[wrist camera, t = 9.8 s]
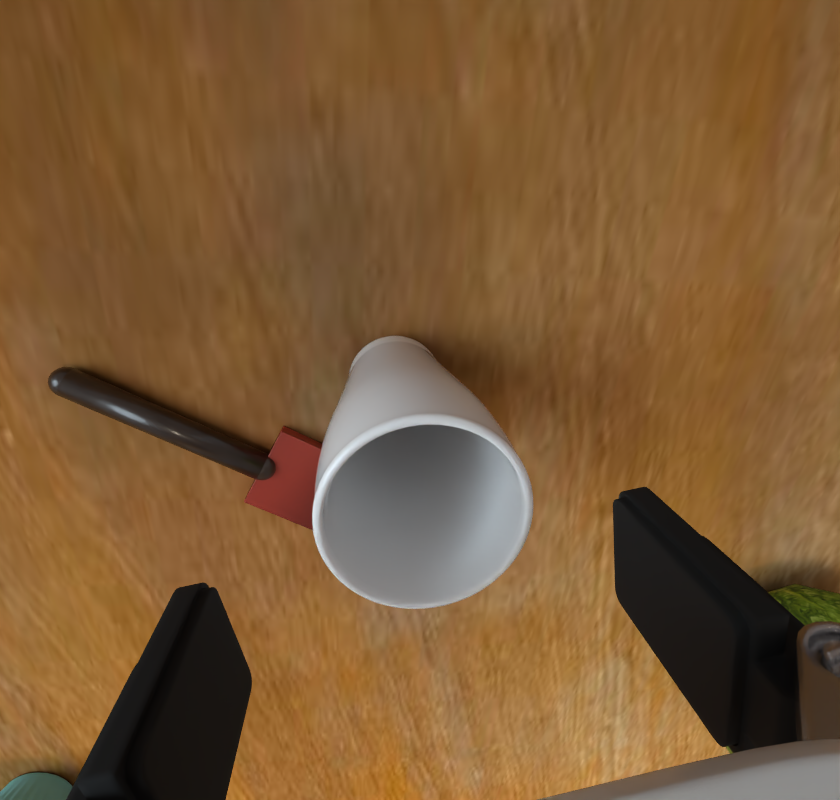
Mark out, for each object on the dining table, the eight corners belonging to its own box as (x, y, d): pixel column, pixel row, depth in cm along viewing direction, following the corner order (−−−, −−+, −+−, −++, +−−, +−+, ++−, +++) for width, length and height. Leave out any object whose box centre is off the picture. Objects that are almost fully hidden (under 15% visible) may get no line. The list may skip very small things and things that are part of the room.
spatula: (44, 410, 26) (25, 421, 25) (76, 329, 25) (58, 335, 24) (367, 544, 32) (367, 559, 30) (406, 482, 30) (408, 494, 29)
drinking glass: (462, 333, 28) (566, 433, 14) (436, 438, 30) (504, 622, 16) (346, 309, 26) (328, 393, 12) (327, 421, 28) (293, 603, 14)
